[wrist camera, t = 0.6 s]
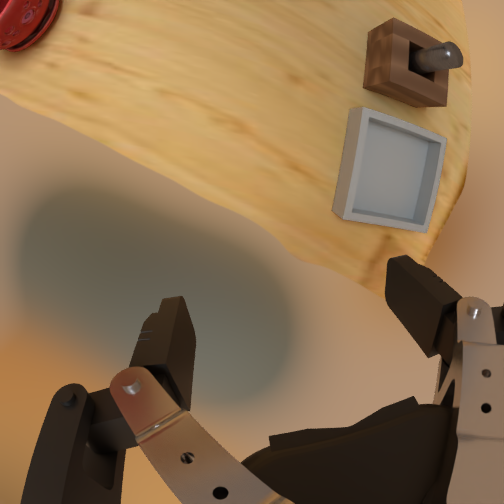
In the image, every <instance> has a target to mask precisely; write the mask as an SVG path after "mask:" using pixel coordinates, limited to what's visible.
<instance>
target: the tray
mask: <svg viewBox="0 0 504 504" xmlns="http://www.w3.org/2000/svg"><path fill="white" fill-rule="evenodd" d="M446 142H447V138H445V137H443V136H440V135H438V134H436V133H434V132H431V131H429V130H426V129H424V128H422V127H419V126H417V125H414V124H411V123H409V122H406V121H404V120H401V119H398V118H395V117H393V116H390V115H387V114H384V113H381V112H378V111H375V110H372V109H369V108H365V107H358V108H352V109H350V110H349V117H348V124H347V130H346V137H345V143H344V149H343V155H342V160H341V166H340V172H339V177H338V182H337V187H336V193H335V198H334V203H333V207H332V211H333V212H334V213H335V214H337V215H338V216H339V217H340V218H342V219H344V220H351V221H357V222H364V223H370V224H376V225H382V226H388V227H394V228H400V229H406V230H411V231H417V232H422V233H427V231H428V227H429V223H430V220H431V216H432V212H433V208H434V204H435V200H436V196H437V191H438V187H439V182H440V177H441V172H442V167H443V161H444V155H445V149H446Z"/></svg>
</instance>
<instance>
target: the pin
mask: <svg viewBox="0 0 504 504" xmlns="http://www.w3.org/2000/svg"><path fill="white" fill-rule="evenodd" d="M462 65H463V56H462V53H461V51H460V49H459V48H458V47H457V46H456V45H455V44H454V43H452V42H445V43H441V44H438V45H434V46H431V47H427V48H424V49H421V50H417V51H414V52H411V53H409V62H408V70H409V71H412V72H414V73H416V74H424V73H429V72H434V71H440V70H446V69H452V68H459V67H461V66H462Z"/></svg>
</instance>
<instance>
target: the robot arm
mask: <svg viewBox="0 0 504 504" xmlns="http://www.w3.org/2000/svg"><path fill="white" fill-rule="evenodd" d="M385 298H386V302H387V304H388V306H389V308H390V309H391V310H392V311H393V313H394V314H395V315H396V316H397V318H398V319H399V320H400V322H401V323H402V324H403V325H404V327H405V328H406V329H407V331H408V332H409V333H410V335H411V336H412V337H413V339H414V340H415V341H416V342H417V344H418V345H419V346H420V348H421V349H422V351H423V352H424V353H425V355H426V356H427V357H428V358H430V357H432V356H435V355H437V354H440V355H441V358H440V361H439V367H438V375H437V383H436V389H435V395H434V400H433V404H420V405H419V404H418V402H417V401H416V399H415V397H414V396H412V397H410V398H407V399H405V400H402V401H399V402H397V403H394V404H392V405H389V406H386V407H383V408H381V409H380V410H378V411H376V412H375V413H373V414H372V415H370V416H368V417H366V418H365V419H363V420H361V421H359V422H358V423H356V424H354V425H352V426H349V427H343V428H320V429H305V430H300V431H295V432H290V433H284V434H278V435H272V436H269V441H270V446H268V447H266V448H264V449H261V450H260V451H257V452H255V453H254V454H252V455H250V456H249V457H247V458H246V459H245V460H243V461H242V462H241V463H240V462H239V461H237V460H236V459H235V458H234V457H233V456H232V455H231V454H230V453H228V451H226V450H225V449H224V448H223V447H222V446H221V445H220V444H219V443H218V442H217V441H216V440H215V439H214V438H213V437H212V436H211V435H210V434H209V433H208V432H207V431H206V430H205V429H204V428H203V427H202V426H201V425H200V424H199V423H198V422H197V421H196V420H195V419H194V418H193V417H192V416H191V414H190V413H189V412H188V411H190V406H191V394H192V382H193V370H194V360H195V349H196V336H195V331H194V327H193V324H192V321H191V318H190V315H189V312H188V309H187V306H186V303H185V300H184V298H183V296H178V297H171V298H164V299H162V302H161V305H160V308H159V311H158V313H152V314H151V315H150V316H149V317H148V318H147V319H146V321H145V322H144V324H143V326H142V329H141V334H140V335H139V338H138V341H137V344H136V347H135V350H134V353H133V356H132V359H131V362H130V365H129V368H127V369H124V370H122V371H121V372H119V373H118V374H117V375H116V376H115V377H114V378H113V379H112V381H111V384H110V387H109V388H106V389H103V390H100V391H96V392H92V393H88V392H87V391H86V389H85V388H84V387H83V386H82V385H80V384H75V383H73V384H68V385H66V386H64V387H62V388H61V389H59V390H58V391H57V392H56V394H55V395H54V396H53V398H52V401H51V404H50V406H49V409H48V411H47V414H46V417H45V420H44V423H43V425H42V428H41V431H40V434H39V437H38V440H37V443H36V446H35V450H34V453H33V456H32V459H31V463H30V467H29V470H28V474H27V478H26V482H25V486H24V490H23V495H22V499H21V504H121V492H122V481H123V471H124V462H125V454H126V449H128V448H132V447H136V446H140V448H141V449H142V451H143V452H144V454H145V455H146V457H147V458H148V460H149V461H150V462H151V464H152V465H153V467H154V468H155V470H156V471H157V472H158V474H159V475H160V476H161V478H162V479H163V480H164V482H165V483H166V484H167V486H168V487H169V488H170V489H171V491H172V492H173V493H174V494H175V496H176V497H177V498H178V499H179V500H180V502H181V503H182V504H504V304H503V306H501V307H492V308H491V307H490V306H489V305H488V304H487V303H486V302H485V301H484V300H482V299H479V298H476V297H465V298H462V296H460V295H459V294H458V293H457V292H456V291H455V290H454V289H453V288H451V287H450V286H449V285H448V284H447V283H446V282H443V280H442V279H441V278H440V277H437V275H436V274H435V273H434V272H433V271H432V270H431V269H429V268H426V267H425V266H422V265H420V264H418V263H416V262H415V261H414V260H413V259H412V258H410V257H409V256H408V255H402V256H398V257H393V258H390V259H389V260H388V263H387V274H386V286H385Z"/></svg>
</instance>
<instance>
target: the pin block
mask: <svg viewBox="0 0 504 504" xmlns="http://www.w3.org/2000/svg"><path fill="white" fill-rule="evenodd" d="M438 44H441V42H440V41H438V40H436V39H434V38H433V37H431V36H429V35H427V34H425V33H423V32H422V31H420V30H418V29H416V28H414V27H412V26H410V25H408V24H406V23H404V22H402V21H399V20H397V19H395V18H392V19H390V20H388V21H386V22H385V23H383V24H381V25H379V26H378V27H376V28H374V29H373V30H371V31H369V32H368V41H367V54H366V64H365V74H364V83H363V88H365V89H368V90H371V91H374V92H377V93H380V94H383V95H386V96H388V97H391V98H394V99H396V100H399V101H401V102H404V103H406V104H409V105H411V106H414V107H446V105H447V93H448V75H449V69H446V70H440V71H434V72H429V73H424V74H416V73H414V72H412V71H409V70H408V62H409V53H411V52H414V51H417V50H421V49H424V48H427V47H431V46H434V45H438Z"/></svg>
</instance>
